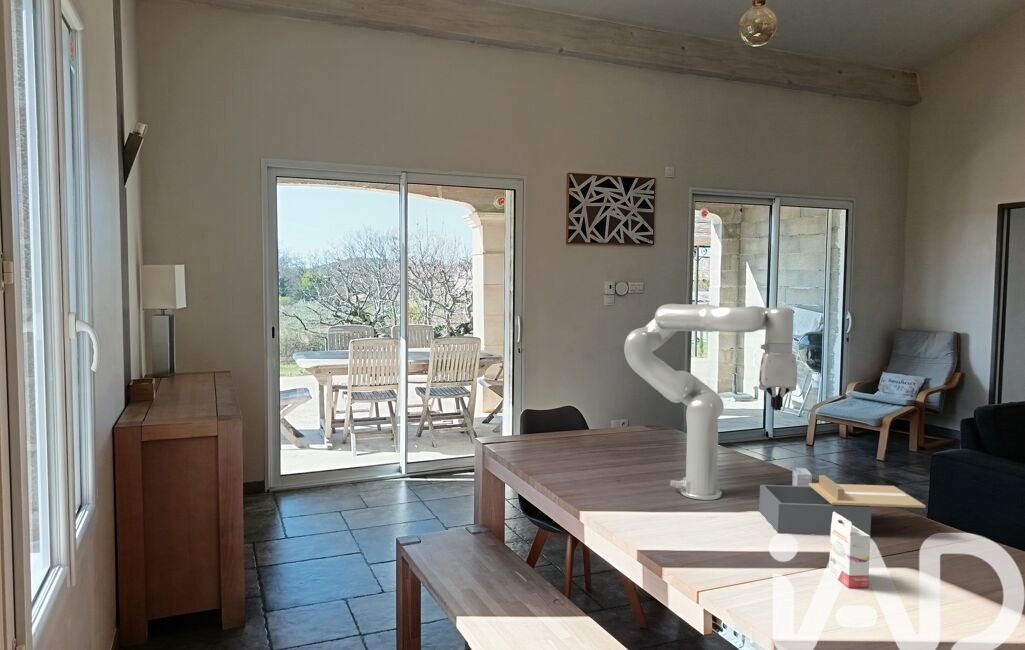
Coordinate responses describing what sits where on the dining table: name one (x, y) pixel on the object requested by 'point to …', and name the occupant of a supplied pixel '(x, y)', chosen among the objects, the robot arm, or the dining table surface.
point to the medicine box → (801, 477)
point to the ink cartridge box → (849, 553)
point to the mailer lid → (863, 494)
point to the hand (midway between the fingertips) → (776, 409)
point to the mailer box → (807, 510)
